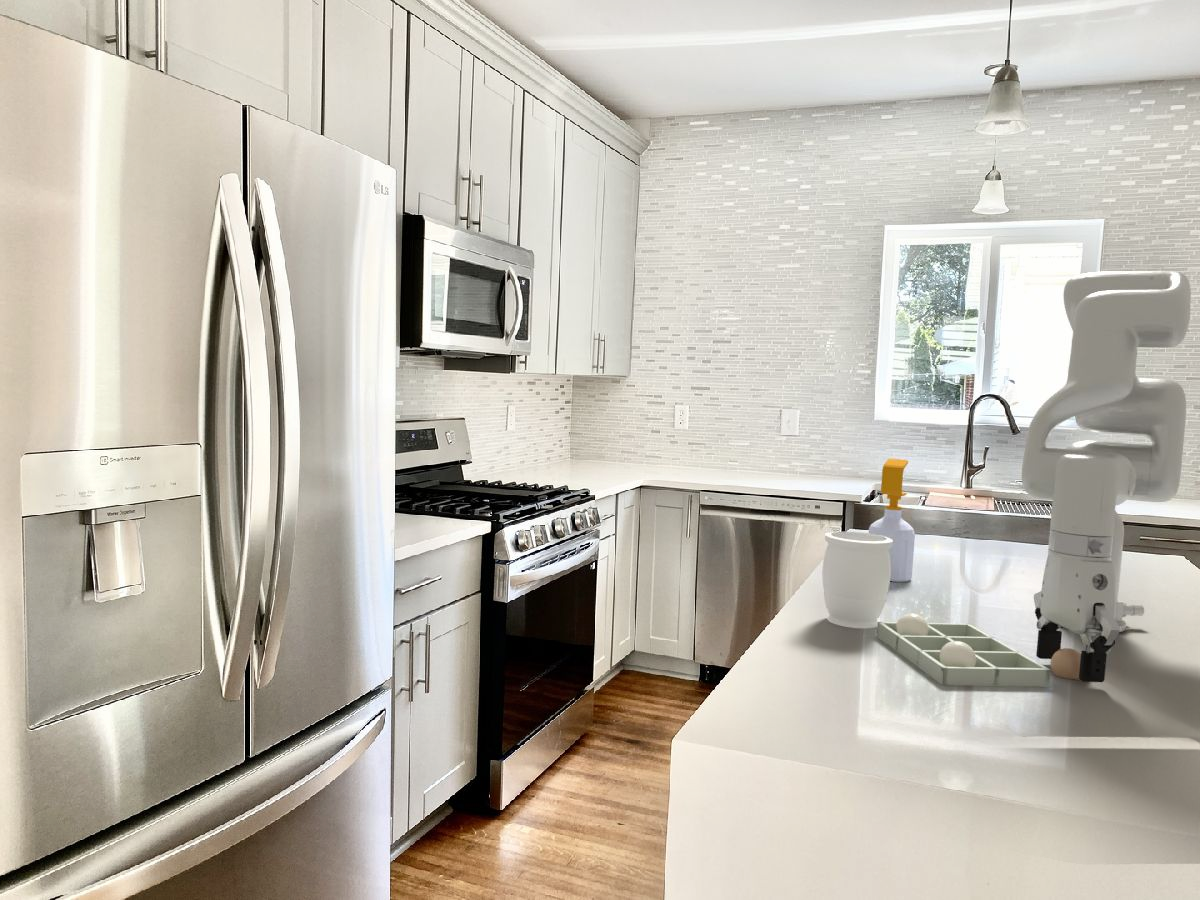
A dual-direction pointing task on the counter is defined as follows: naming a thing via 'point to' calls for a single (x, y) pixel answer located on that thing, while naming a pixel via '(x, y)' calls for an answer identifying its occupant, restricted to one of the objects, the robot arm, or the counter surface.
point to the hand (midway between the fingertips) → (1068, 669)
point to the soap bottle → (895, 522)
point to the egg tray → (992, 656)
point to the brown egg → (1066, 663)
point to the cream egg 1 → (912, 625)
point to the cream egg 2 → (957, 655)
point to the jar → (856, 577)
